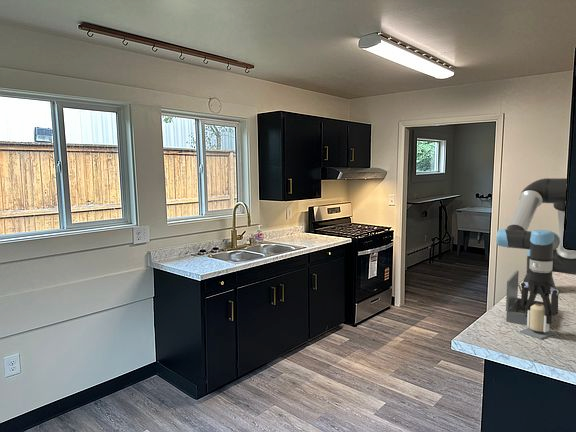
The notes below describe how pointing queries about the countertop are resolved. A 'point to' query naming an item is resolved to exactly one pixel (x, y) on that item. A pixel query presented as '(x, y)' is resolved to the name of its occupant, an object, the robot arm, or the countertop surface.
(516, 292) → the case
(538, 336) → the mat
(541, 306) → the candle
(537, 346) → the countertop surface
